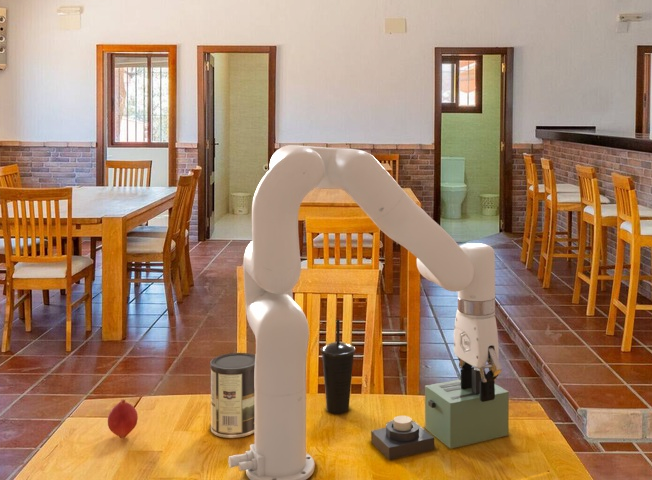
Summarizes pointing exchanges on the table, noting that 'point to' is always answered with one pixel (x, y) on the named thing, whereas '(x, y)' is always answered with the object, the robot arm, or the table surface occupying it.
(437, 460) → the table surface
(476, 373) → the slider
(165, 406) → the table surface
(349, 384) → the drinking cup
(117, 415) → the onion
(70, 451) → the table surface
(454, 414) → the toaster
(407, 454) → the control block
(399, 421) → the button
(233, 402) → the coffee can
